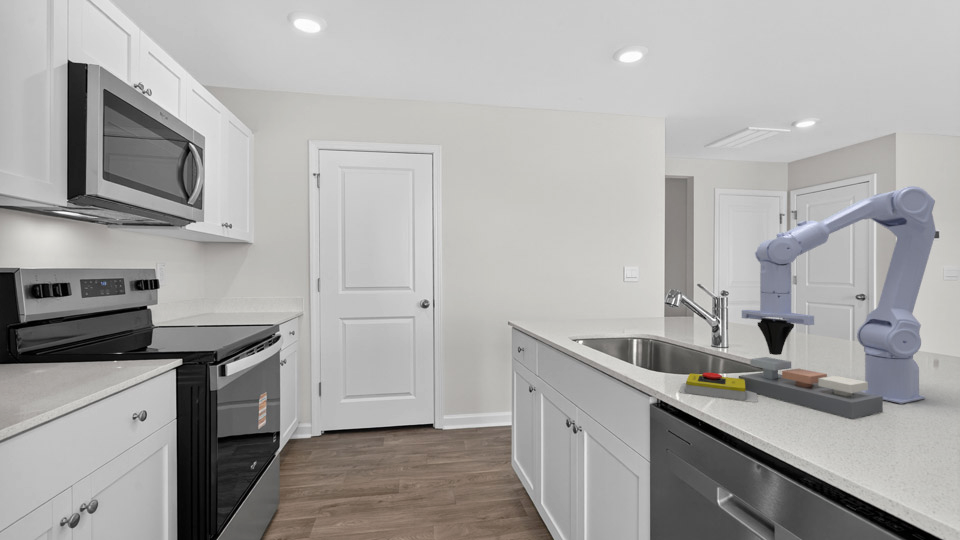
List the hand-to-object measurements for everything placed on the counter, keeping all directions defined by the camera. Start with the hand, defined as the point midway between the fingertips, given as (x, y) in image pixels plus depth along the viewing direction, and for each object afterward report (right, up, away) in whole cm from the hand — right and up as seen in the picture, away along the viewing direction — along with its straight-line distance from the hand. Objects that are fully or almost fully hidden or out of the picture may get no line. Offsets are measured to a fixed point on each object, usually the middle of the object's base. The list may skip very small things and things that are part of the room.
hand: (775, 354), depth 97 cm
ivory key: (+5, -7, -12) cm, 15 cm away
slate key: (0, -6, +1) cm, 6 cm away
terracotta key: (+2, -7, -5) cm, 9 cm away
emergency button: (-13, -9, 0) cm, 16 cm away
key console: (+2, -8, -5) cm, 10 cm away
